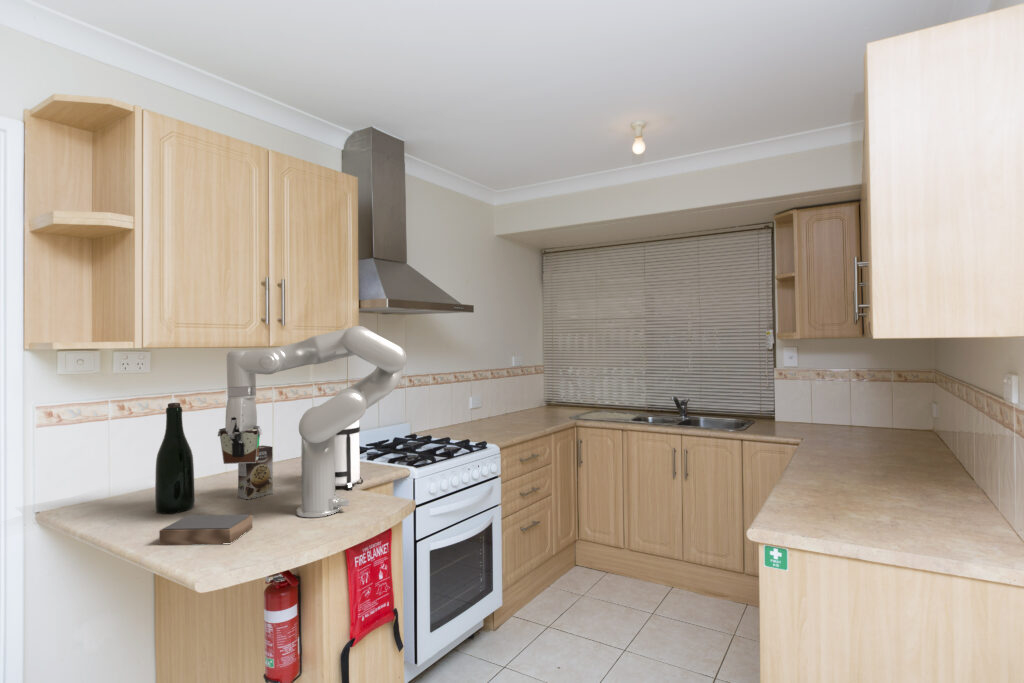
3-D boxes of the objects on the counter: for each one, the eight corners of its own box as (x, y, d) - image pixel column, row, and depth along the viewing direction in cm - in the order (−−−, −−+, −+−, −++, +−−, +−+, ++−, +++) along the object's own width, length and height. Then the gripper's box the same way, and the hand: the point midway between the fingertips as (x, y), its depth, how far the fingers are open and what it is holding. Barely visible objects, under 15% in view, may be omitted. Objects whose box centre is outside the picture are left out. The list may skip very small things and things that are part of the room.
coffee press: (312, 485, 200) (311, 401, 200) (356, 479, 209) (355, 398, 209) (325, 496, 185) (324, 406, 185) (372, 489, 194) (371, 402, 194)
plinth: (252, 528, 154) (252, 514, 154) (230, 544, 142) (229, 528, 142) (187, 529, 154) (187, 514, 154) (159, 545, 142) (159, 529, 142)
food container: (270, 458, 167) (269, 424, 166) (261, 462, 160) (259, 427, 160) (229, 459, 167) (228, 425, 167) (218, 464, 160) (217, 429, 160)
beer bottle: (179, 503, 180) (178, 400, 180) (202, 506, 176) (201, 401, 176) (147, 512, 170) (145, 404, 170) (171, 516, 166) (169, 405, 166)
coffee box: (247, 500, 182) (246, 450, 182) (237, 497, 186) (237, 448, 186) (273, 493, 190) (273, 446, 190) (263, 491, 194) (263, 444, 194)
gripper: (243, 390, 171) (244, 449, 172) (213, 395, 154) (214, 461, 154) (267, 389, 171) (269, 448, 171) (240, 395, 154) (241, 460, 154)
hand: (243, 454), depth 163 cm, fingers closed on food container, 5 cm apart
